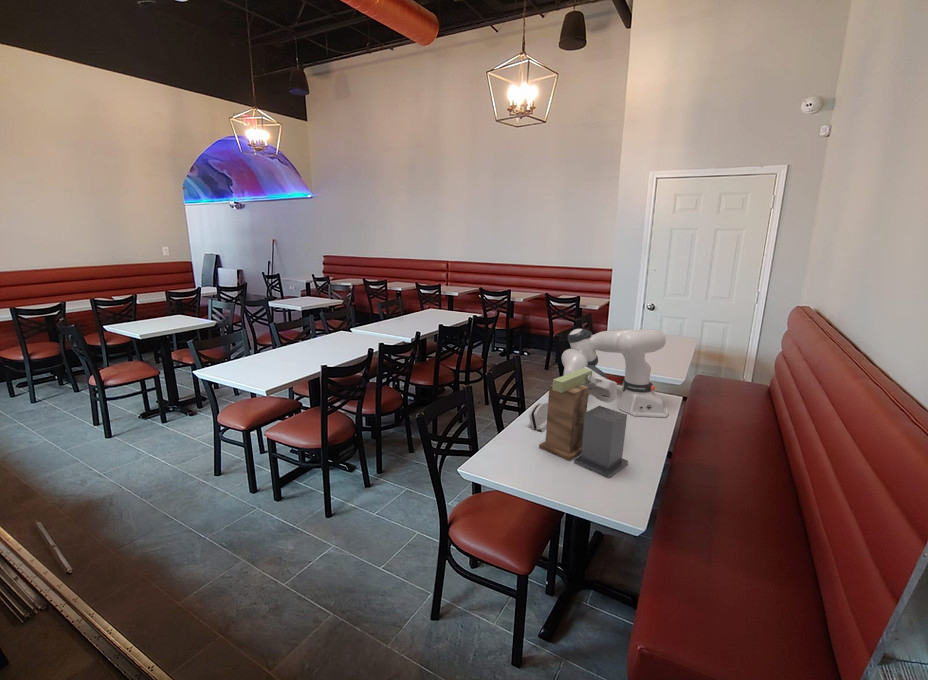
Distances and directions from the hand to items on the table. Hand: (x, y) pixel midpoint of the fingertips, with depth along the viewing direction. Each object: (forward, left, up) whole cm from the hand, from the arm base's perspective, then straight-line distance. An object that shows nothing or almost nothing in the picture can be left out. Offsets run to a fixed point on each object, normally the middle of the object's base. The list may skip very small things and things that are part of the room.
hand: (581, 375), depth 175 cm
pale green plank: (+3, +5, -2) cm, 6 cm away
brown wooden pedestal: (+4, +7, -28) cm, 30 cm away
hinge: (+15, -13, -29) cm, 35 cm away
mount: (-10, +15, -28) cm, 34 cm away
